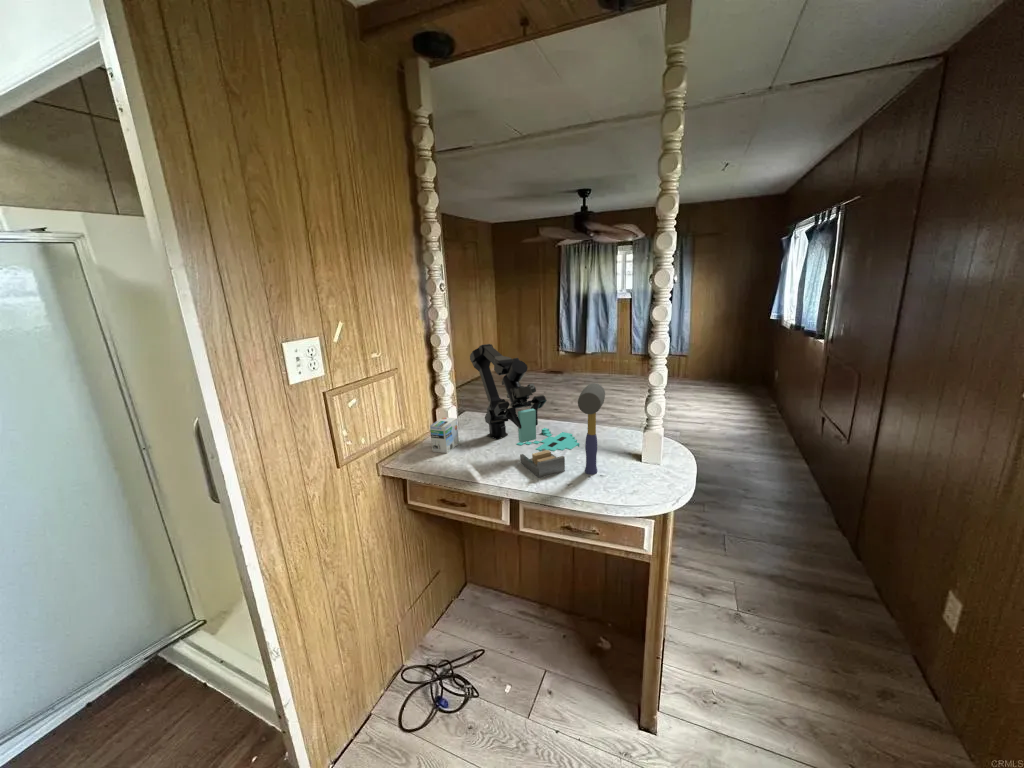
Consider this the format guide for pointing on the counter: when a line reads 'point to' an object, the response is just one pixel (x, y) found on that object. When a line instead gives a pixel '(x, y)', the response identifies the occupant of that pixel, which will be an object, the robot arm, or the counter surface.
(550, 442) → the alien figure
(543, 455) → the offcut
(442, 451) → the light bulb box
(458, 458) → the counter surface
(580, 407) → the rubber mallet
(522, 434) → the teal rectangular block
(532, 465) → the rack
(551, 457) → the offcut
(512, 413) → the robot arm
